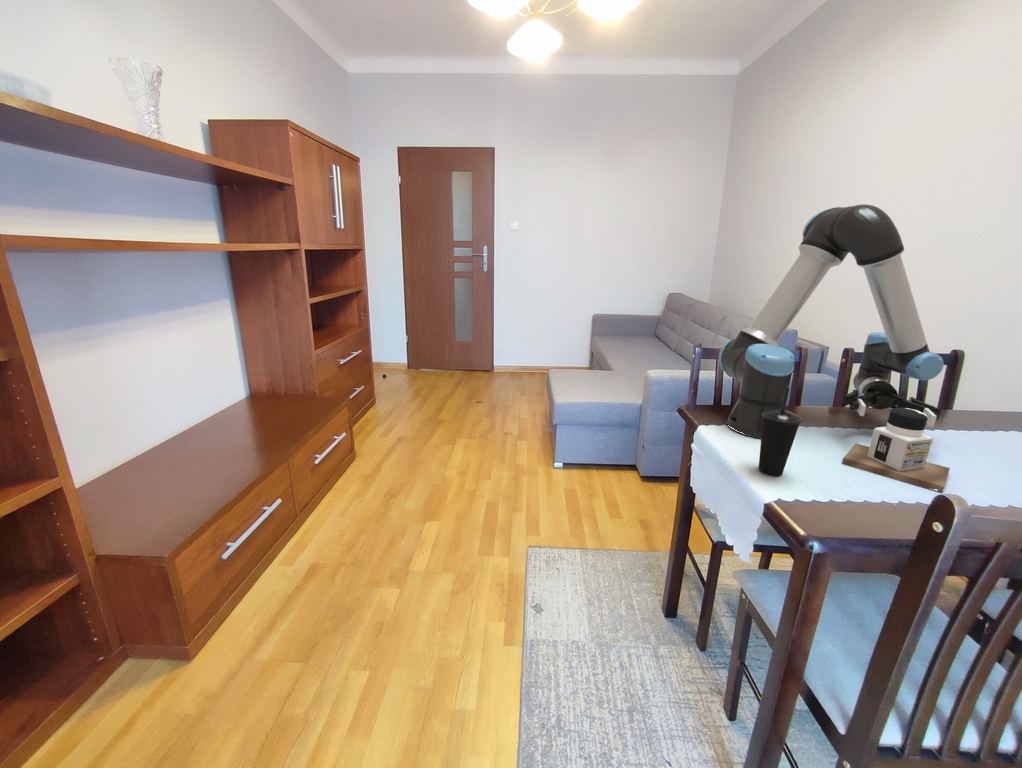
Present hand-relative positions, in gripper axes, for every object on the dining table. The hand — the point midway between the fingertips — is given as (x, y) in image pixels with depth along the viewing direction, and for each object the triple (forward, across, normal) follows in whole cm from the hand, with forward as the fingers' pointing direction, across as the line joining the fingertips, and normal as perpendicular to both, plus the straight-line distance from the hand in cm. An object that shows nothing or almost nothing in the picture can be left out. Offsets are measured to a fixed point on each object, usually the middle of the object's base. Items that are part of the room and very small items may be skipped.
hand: (897, 416), depth 112 cm
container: (+8, 0, -9) cm, 12 cm away
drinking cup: (+25, +26, -11) cm, 38 cm away
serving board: (+8, 0, -11) cm, 13 cm away
